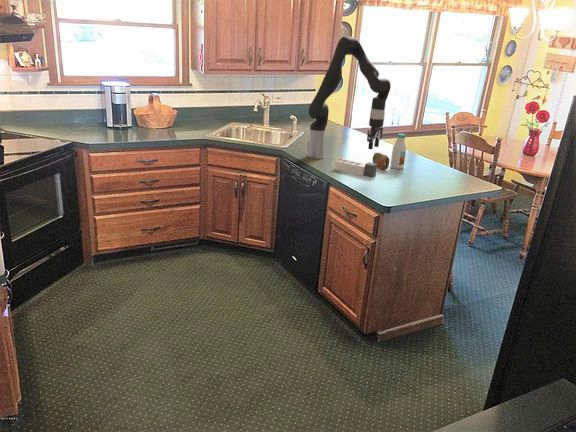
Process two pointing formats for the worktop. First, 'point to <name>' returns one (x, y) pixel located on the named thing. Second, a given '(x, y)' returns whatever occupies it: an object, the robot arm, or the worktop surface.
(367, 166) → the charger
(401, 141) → the milk bottle
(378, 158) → the tin
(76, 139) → the worktop surface
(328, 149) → the worktop surface
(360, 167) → the power strip
